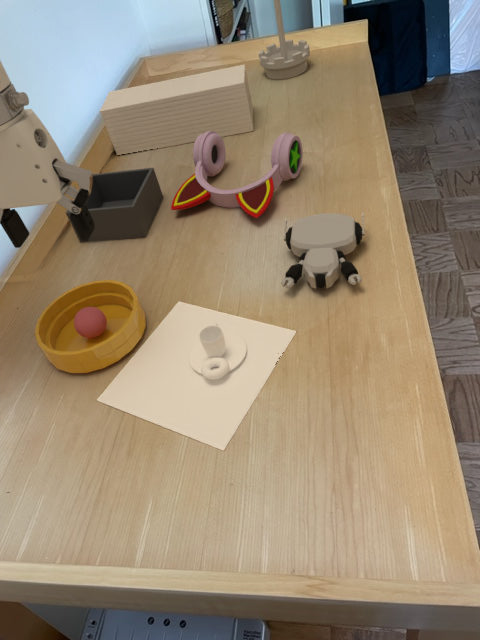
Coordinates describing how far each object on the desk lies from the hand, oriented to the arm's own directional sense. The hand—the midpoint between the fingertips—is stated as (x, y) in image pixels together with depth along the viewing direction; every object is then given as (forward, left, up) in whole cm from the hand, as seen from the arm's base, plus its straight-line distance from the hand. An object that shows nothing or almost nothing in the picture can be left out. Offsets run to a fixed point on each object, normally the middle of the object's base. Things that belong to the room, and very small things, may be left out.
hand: (55, 238), depth 69 cm
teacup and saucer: (+17, -8, -17) cm, 25 cm away
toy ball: (0, -2, -14) cm, 14 cm away
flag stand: (+20, +93, -17) cm, 97 cm away
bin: (-6, +29, -17) cm, 34 cm away
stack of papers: (-1, +63, -17) cm, 66 cm away
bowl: (0, -2, -17) cm, 17 cm away
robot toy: (+33, +12, -17) cm, 39 cm away
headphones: (+16, +35, -17) cm, 42 cm away
